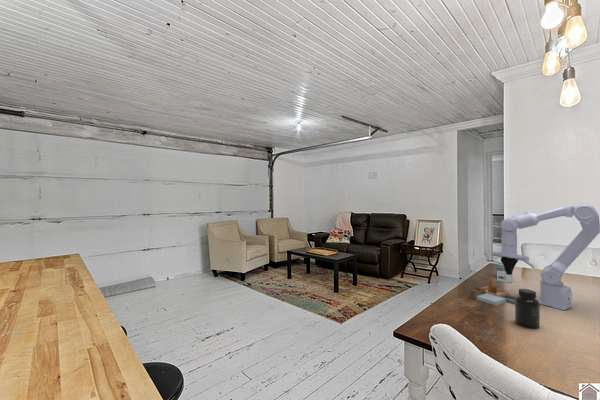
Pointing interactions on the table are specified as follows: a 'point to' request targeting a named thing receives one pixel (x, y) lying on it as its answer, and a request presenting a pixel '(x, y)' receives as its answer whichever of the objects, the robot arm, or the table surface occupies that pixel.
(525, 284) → the table surface
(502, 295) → the socket
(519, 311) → the supplement bottle
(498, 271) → the light bulb box
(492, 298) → the plate
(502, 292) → the tray
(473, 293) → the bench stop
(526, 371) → the table surface
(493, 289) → the dowel
